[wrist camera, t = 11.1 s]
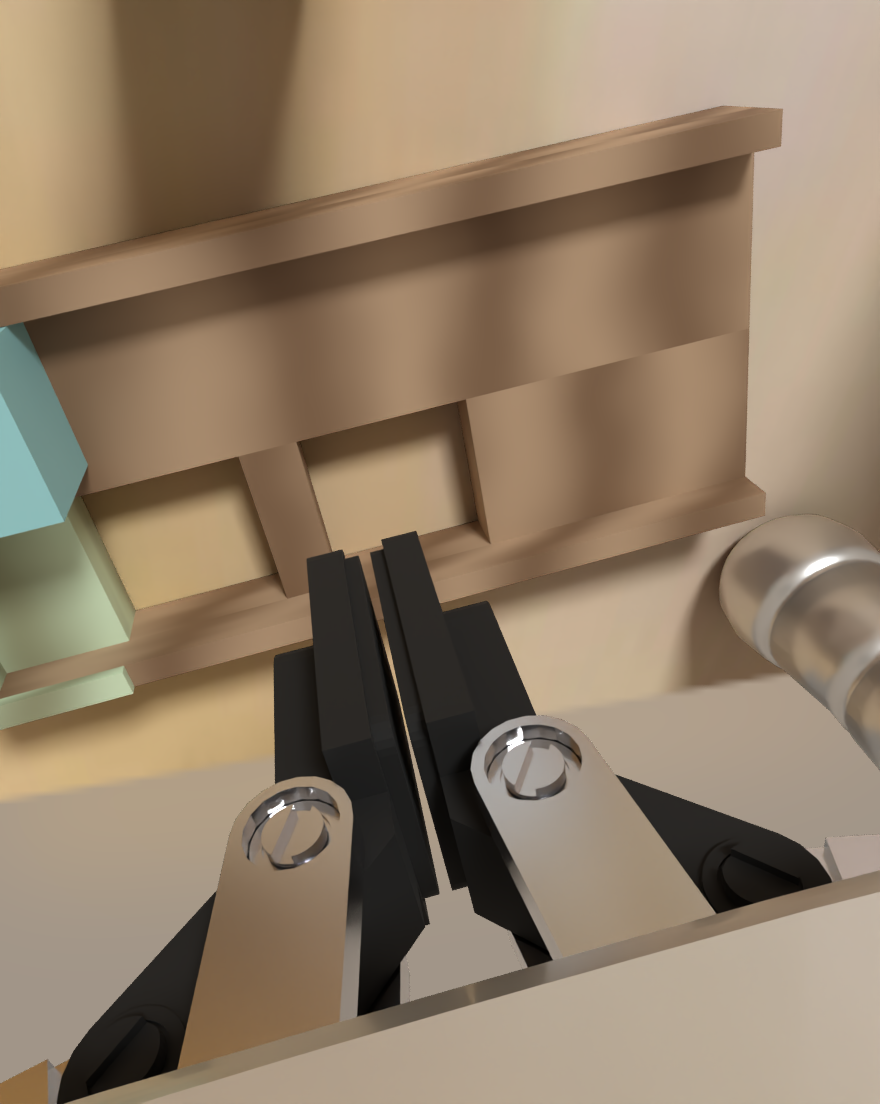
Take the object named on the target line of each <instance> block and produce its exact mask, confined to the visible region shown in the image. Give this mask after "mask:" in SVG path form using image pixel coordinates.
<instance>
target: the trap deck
mask: <svg viewBox="0 0 880 1104" xmlns="http://www.w3.org/2000/svg"><path fill="white" fill-rule="evenodd" d="M782 113H783V109H775V108H755V107H736V106H720V107H716V108H711V109H707V110H703V111H698V112H694V113H689V114H685V115H681V116H676V117H672V118H667V119H663V120H658V121H654V122H650V123H645V124H641V125H636V126H632V127H627V128H623V129H619V130H614V131H610V132H605V133H601V134H597V135H592V136H588V137H583V138H579V139H574V140H570V141H566V142H561V143H557V144H552V145H548V146H543V147H539V148H535V149H530V150H526V151H521V152H517V153H513V154H508V155H504V156H499V157H495V158H490V159H486V160H482V161H477V162H473V163H468V164H464V165H459V166H455V167H451V168H446V169H442V170H437V171H433V172H429V173H424V174H420V175H415V176H411V177H406V178H402V179H398V180H393V181H389V182H384V183H380V184H375V185H371V186H367V187H362V188H358V189H353V190H349V191H345V192H340V193H336V194H331V195H327V196H322V197H318V198H314V199H309V200H305V201H300V202H296V203H291V204H287V205H283V206H278V207H274V208H269V209H265V210H261V211H256V212H252V213H247V214H243V215H238V216H234V217H230V218H225V219H221V220H216V221H212V222H207V223H203V224H199V225H194V226H190V227H185V228H181V229H177V230H172V231H168V232H163V233H159V234H154V235H150V236H146V237H141V238H137V239H132V240H128V241H123V242H119V243H115V244H110V245H106V246H101V247H97V248H93V249H88V250H84V251H79V252H75V253H70V254H66V255H62V256H57V257H53V258H48V259H44V260H40V261H35V262H31V263H26V264H22V265H17V266H13V267H9V268H4V269H0V327H4V326H8V325H13V324H17V323H21V322H23V323H24V326H25V328H26V330H27V332H28V334H29V337H30V339H31V341H32V343H33V345H34V348H35V350H36V352H37V354H38V356H39V359H40V361H41V363H42V365H43V367H44V369H45V372H46V374H47V376H48V378H49V380H50V383H51V385H52V387H53V389H54V391H55V394H56V396H57V398H58V400H59V402H60V405H61V407H62V409H63V411H64V413H65V416H66V418H67V420H68V422H69V424H70V427H71V429H72V431H73V433H74V435H75V438H76V440H77V442H78V444H79V446H80V448H81V451H82V453H83V455H84V457H85V459H86V462H87V464H88V466H87V469H86V471H85V473H84V476H83V478H82V481H81V483H80V485H79V488H78V490H77V493H76V495H75V497H74V500H73V502H72V505H71V507H70V509H69V512H68V514H67V517H66V519H65V521H64V522H62V523H58V524H54V525H50V526H45V527H41V528H37V529H33V530H29V531H25V532H21V533H17V534H13V535H9V536H5V537H1V538H0V730H2V729H5V728H9V727H13V726H16V725H20V724H24V723H27V722H31V721H35V720H38V719H42V718H46V717H49V716H53V715H57V714H60V713H64V712H68V711H71V710H75V709H79V708H82V707H86V706H90V705H94V704H97V703H101V702H105V701H108V700H112V699H116V698H119V697H123V696H127V695H130V694H133V692H134V687H135V686H139V685H142V684H146V683H150V682H153V681H157V680H161V679H164V678H168V677H172V676H175V675H179V674H183V673H186V672H190V671H194V670H197V669H201V668H205V667H209V666H212V665H216V664H220V663H223V662H227V661H231V660H234V659H238V658H242V657H245V656H249V655H253V654H256V653H260V652H264V651H267V650H271V649H275V648H279V647H282V646H286V645H290V644H293V643H297V642H301V641H304V640H308V639H312V638H313V635H312V623H311V611H310V599H309V586H308V574H307V558H310V557H314V556H318V555H322V554H326V553H330V552H332V549H331V546H330V542H329V539H328V536H327V532H326V529H325V525H324V522H323V519H322V515H321V512H320V509H319V505H318V502H317V499H316V495H315V492H314V489H313V485H312V482H311V479H310V475H309V472H308V468H307V465H306V462H305V458H304V455H303V452H302V448H301V445H300V442H299V441H302V440H306V439H310V438H314V437H318V436H322V435H326V434H330V433H334V432H338V431H342V430H346V429H350V428H354V427H358V426H362V425H366V424H370V423H374V422H378V421H382V420H386V419H390V418H394V417H398V416H402V415H406V414H410V413H414V412H418V411H422V410H426V409H430V408H434V407H438V406H442V405H446V404H450V403H454V402H457V404H458V410H459V415H460V421H461V427H462V432H463V438H464V444H465V449H466V455H467V460H468V466H469V472H470V477H471V483H472V488H473V494H474V500H475V505H476V511H477V517H478V521H474V522H470V523H466V524H463V525H459V526H455V527H451V528H448V529H444V530H440V531H436V532H432V533H429V534H425V535H421V536H418V538H419V541H420V544H421V547H422V550H423V553H424V556H425V559H426V563H427V566H428V569H429V572H430V575H431V578H432V581H433V584H434V587H435V590H436V593H437V596H438V600H439V603H440V604H441V603H444V602H448V601H452V600H455V599H459V598H463V597H466V596H470V595H474V594H477V593H481V592H485V591H489V590H492V589H496V588H500V587H503V586H507V585H511V584H514V583H518V582H522V581H525V580H529V579H533V578H536V577H540V576H544V575H547V574H551V573H555V572H559V571H562V570H566V569H570V568H573V567H577V566H581V565H584V564H588V563H592V562H595V561H599V560H603V559H606V558H610V557H614V556H617V555H621V554H625V553H629V552H632V551H636V550H640V549H643V548H647V547H651V546H654V545H658V544H662V543H665V542H669V541H673V540H676V539H680V538H684V537H687V536H691V535H695V534H699V533H702V532H706V531H710V530H713V529H717V528H721V527H724V526H728V525H732V524H735V523H739V522H743V521H746V520H750V519H754V518H757V517H761V516H765V499H766V493H765V492H764V491H763V490H761V489H760V488H759V487H758V486H756V485H755V484H754V483H753V482H751V481H750V480H749V479H747V478H746V477H745V462H746V426H747V391H748V355H749V319H750V283H751V247H752V212H753V176H754V152H758V151H763V150H767V149H771V148H776V147H780V146H781V136H782ZM234 457H239V460H240V463H241V466H242V469H243V472H244V475H245V478H246V480H247V483H248V486H249V489H250V492H251V495H252V498H253V501H254V504H255V506H256V509H257V512H258V515H259V518H260V521H261V524H262V527H263V529H264V532H265V535H266V538H267V541H268V544H269V547H270V550H271V553H272V555H273V558H274V561H275V564H276V567H277V570H278V573H277V574H273V575H269V576H266V577H262V578H258V579H254V580H250V581H247V582H243V583H239V584H235V585H231V586H228V587H224V588H220V589H216V590H213V591H209V592H205V593H201V594H197V595H194V596H190V597H186V598H182V599H178V600H175V601H171V602H167V603H163V604H159V605H156V606H152V607H148V608H144V609H140V610H137V611H135V608H134V606H133V604H132V602H131V600H130V598H129V596H128V594H127V592H126V590H125V588H124V585H123V583H122V581H121V579H120V577H119V575H118V573H117V571H116V569H115V567H114V564H113V562H112V560H111V558H110V556H109V554H108V552H107V550H106V548H105V546H104V543H103V541H102V539H101V537H100V535H99V533H98V531H97V529H96V527H95V525H94V523H93V520H92V518H91V516H90V514H89V512H88V510H87V508H86V506H85V504H84V502H83V499H82V497H81V496H83V495H87V494H91V493H95V492H99V491H103V490H107V489H111V488H115V487H119V486H123V485H127V484H131V483H135V482H139V481H143V480H147V479H151V478H154V477H158V476H162V475H166V474H170V473H174V472H178V471H182V470H186V469H190V468H194V467H198V466H202V465H206V464H210V463H214V462H218V461H222V460H226V459H230V458H234ZM381 549H383V546H379V547H376V548H372V549H368V550H364V551H360V552H357V553H353V554H349V555H345V558H349V557H353V556H357V555H359V558H360V561H361V565H362V569H363V572H364V576H365V579H366V583H367V587H368V590H369V594H370V597H371V601H372V604H373V608H374V612H375V615H376V619H377V621H378V620H382V619H384V617H383V613H382V608H381V603H380V599H379V594H378V589H377V585H376V580H375V575H374V571H373V566H372V561H371V557H370V552H373V551H377V550H381Z"/></svg>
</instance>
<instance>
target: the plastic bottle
mask: <svg viewBox="0 0 880 1104" xmlns="http://www.w3.org/2000/svg"><path fill="white" fill-rule="evenodd" d="M719 600H720V604H721V607H722V610H723V611H724V613H725V615H726V617H727V618H728V620H729V622H730V624H731V625H732V627H733V629H734V630H735V632H736V633H737V635H738V637H739V638H740V639H742V640H743V641H744V642H745V643H746V644H748V645H749V646H750V647H751V648H753V649H754V650H755V651H756V652H758V653H759V654H760V655H761V656H763V657H764V658H765V659H766V660H768V661H770V662H771V663H773V664H774V665H776V666H777V667H779V668H781V669H783V670H784V671H785V672H787V673H788V674H789V675H790V676H791V677H792V678H793V679H794V680H796V681H797V682H798V683H799V684H800V685H801V686H802V687H803V688H805V689H806V690H807V691H808V692H809V693H810V694H811V695H812V696H814V697H815V698H816V699H817V700H818V701H819V702H820V703H821V704H823V705H824V706H825V707H826V708H827V709H828V710H829V711H830V712H831V713H832V714H833V715H834V716H835V718H836V719H837V720H838V721H839V723H840V724H841V725H842V726H843V727H844V728H845V729H846V730H847V731H848V732H849V733H850V734H851V736H852V738H853V739H854V740H855V741H856V743H857V744H858V745H859V746H860V747H861V749H862V750H863V751H864V752H865V753H866V755H867V756H868V757H869V758H870V759H871V761H872V762H873V763H874V764H875V765H876V766H877V767H878V769H879V770H880V553H879V552H878V551H877V550H876V549H875V548H874V547H873V546H872V545H871V544H870V543H869V542H868V541H867V540H866V538H865V537H864V536H863V535H862V534H860V533H859V532H857V531H855V530H854V529H852V528H850V527H848V526H845V525H843V524H841V523H839V522H836V521H834V520H832V519H830V518H827V517H824V516H820V515H813V514H802V515H793V516H785V517H780V518H777V519H773V520H770V521H768V522H766V523H764V524H762V525H760V526H758V527H757V528H755V529H754V530H752V531H751V532H749V533H748V534H747V535H746V536H745V537H743V538H742V539H741V540H740V541H739V542H738V543H737V545H736V546H735V547H734V548H733V549H732V551H731V552H730V554H729V556H728V557H727V559H726V561H725V563H724V566H723V568H722V573H721V578H720V585H719Z"/></svg>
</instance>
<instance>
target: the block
mask: <svg viewBox="0 0 880 1104" xmlns="http://www.w3.org/2000/svg"><path fill="white" fill-rule="evenodd" d="M87 466H88V464H87V462H86V459H85V457H84V455H83V453H82V451H81V448H80V446H79V444H78V442H77V440H76V438H75V435H74V433H73V431H72V429H71V427H70V424H69V422H68V420H67V418H66V416H65V413H64V411H63V409H62V407H61V405H60V402H59V400H58V398H57V396H56V394H55V391H54V389H53V387H52V385H51V383H50V380H49V378H48V376H47V374H46V372H45V369H44V367H43V365H42V363H41V361H40V359H39V356H38V354H37V352H36V350H35V348H34V345H33V343H32V341H31V339H30V337H29V334H28V332H27V330H26V328H25V326H24V323H23V322H21V323H17V324H13V325H8V326H4V327H0V538H1V537H5V536H9V535H13V534H17V533H21V532H25V531H29V530H33V529H37V528H41V527H45V526H50V525H54V524H58V523H62V522H64V521H65V519H66V517H67V514H68V512H69V509H70V507H71V505H72V502H73V500H74V497H75V495H76V493H77V490H78V488H79V485H80V483H81V481H82V478H83V476H84V473H85V471H86V469H87Z"/></svg>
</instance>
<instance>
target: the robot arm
mask: <svg viewBox="0 0 880 1104" xmlns="http://www.w3.org/2000/svg"><path fill="white" fill-rule="evenodd" d="M381 541H382V545H383V549H381V550H377V551H373V552H370V557H371V561H372V566H373V571H374V575H375V580H376V585H377V589H378V594H379V599H380V603H381V608H382V613H383V617H384V622H385V627H386V631H387V636H388V641H389V645H390V650H391V655H392V660H393V664H394V669H395V674H396V678H397V683H398V688H399V692H400V697H401V702H402V706H403V711H404V715H405V720H406V724H407V728H408V732H409V736H410V740H411V744H412V747H413V751H414V755H415V758H416V762H417V765H418V769H419V773H420V776H421V780H422V783H423V787H424V791H425V794H426V798H427V801H428V805H429V808H430V812H431V815H432V819H433V823H434V827H435V830H436V834H437V837H438V841H439V844H440V848H441V852H442V855H443V859H444V863H445V866H446V870H447V873H448V877H449V880H450V884H451V888H452V890H456V889H460V888H463V887H466V886H468V888H469V893H470V896H471V900H472V904H473V908H474V912H475V913H476V914H478V915H480V916H482V917H484V918H486V919H488V920H489V921H491V922H494V923H495V924H497V925H499V926H501V927H503V928H505V929H507V931H508V935H509V939H510V942H511V946H512V948H513V950H514V952H515V954H516V957H517V959H518V961H519V963H520V965H521V967H522V970H518V971H515V972H511V973H508V974H504V975H501V976H497V977H494V978H490V979H487V980H483V981H480V982H477V983H473V984H469V985H466V986H463V987H459V988H456V989H452V990H449V991H445V992H442V993H438V994H435V995H431V996H428V997H424V998H421V999H417V1000H414V1001H411V1002H410V974H409V968H408V962H407V957H406V954H407V953H408V951H409V950H410V948H411V947H412V945H413V944H414V942H415V941H416V939H417V938H418V936H419V935H420V933H421V932H422V931H423V929H424V928H425V925H428V924H430V923H429V918H428V912H427V907H426V902H425V898H428V897H431V896H435V895H438V894H439V888H438V883H437V878H436V874H435V868H434V864H433V859H432V854H431V849H430V845H429V840H428V835H427V831H426V826H425V821H424V816H423V812H422V807H421V802H420V798H419V793H418V788H417V783H416V779H415V773H414V769H413V764H412V759H411V754H410V750H409V745H408V740H407V735H406V731H405V726H404V721H403V716H402V712H401V707H400V703H399V699H398V695H397V691H396V687H395V684H394V680H393V676H392V673H391V669H390V666H389V662H388V658H387V655H386V651H385V648H384V644H383V640H382V637H381V633H380V630H379V626H378V622H377V619H376V615H375V612H374V608H373V604H372V601H371V597H370V594H369V590H368V587H367V583H366V579H365V576H364V572H363V569H362V565H361V561H360V558H359V555H357V556H353V557H349V558H345V555H344V552H343V550H338V551H334V552H330V553H326V554H322V555H318V556H314V557H310V558H307V574H308V586H309V599H310V611H311V623H312V635H313V646H310V647H306V648H302V649H298V650H294V651H290V652H287V653H283V654H279V655H276V656H275V658H274V733H275V785H273V786H271V787H269V788H267V789H265V790H264V791H262V792H261V793H259V794H258V795H257V796H256V797H255V798H253V799H252V800H251V801H250V802H249V803H247V804H246V806H245V807H244V809H243V810H242V811H241V812H240V814H239V815H238V816H237V818H236V819H235V822H234V824H233V827H232V830H231V832H230V835H229V838H228V843H227V847H226V852H225V856H224V861H223V865H222V870H221V874H220V879H219V883H218V888H217V891H216V892H215V893H214V894H213V895H212V896H211V897H210V898H209V900H208V901H207V902H206V903H205V904H204V905H203V906H202V907H201V908H200V909H199V910H198V912H197V913H196V914H195V915H194V916H193V917H192V918H191V919H190V920H189V921H188V923H187V924H186V925H185V926H184V927H183V928H182V929H181V930H180V931H179V932H178V933H177V934H176V936H175V937H174V938H173V939H172V940H171V941H170V942H169V943H168V944H167V945H166V946H165V948H164V949H163V950H162V951H161V952H160V953H159V954H158V955H157V956H156V957H155V959H154V960H153V961H152V962H151V963H150V964H149V965H148V966H147V967H146V968H145V969H144V971H143V972H142V973H141V974H140V975H139V976H138V977H137V978H136V979H135V980H134V982H133V983H132V984H131V985H130V986H129V987H128V988H127V989H126V990H125V992H123V994H122V995H121V996H120V997H119V998H118V999H117V1000H116V1001H115V1002H114V1003H113V1005H112V1006H111V1007H110V1008H109V1009H108V1010H107V1011H106V1012H105V1013H104V1014H103V1015H102V1016H101V1018H100V1019H99V1020H98V1021H97V1022H96V1023H95V1024H94V1025H93V1026H92V1028H91V1029H90V1030H89V1031H88V1033H87V1034H86V1035H85V1036H84V1038H83V1039H82V1041H81V1042H80V1043H79V1044H78V1046H77V1047H76V1048H75V1050H74V1051H73V1053H72V1055H71V1057H70V1059H69V1060H67V1061H65V1062H63V1063H61V1064H59V1065H57V1066H55V1067H54V1066H53V1065H52V1064H51V1063H50V1061H49V1060H48V1059H47V1060H45V1061H43V1062H41V1063H39V1064H37V1065H35V1066H33V1067H31V1068H29V1069H27V1070H25V1071H23V1072H21V1073H19V1074H17V1075H16V1076H13V1077H12V1078H10V1079H8V1080H6V1081H4V1082H2V1083H0V1104H880V834H872V835H857V836H840V837H826V838H825V845H824V847H817V848H804V847H803V846H801V845H800V844H798V843H797V842H795V841H792V840H790V839H788V838H787V837H784V836H783V835H780V834H778V833H776V832H773V831H770V830H767V829H764V828H761V827H759V826H756V825H753V824H750V823H748V822H745V821H742V820H740V819H737V818H734V817H731V816H729V815H726V814H723V813H720V812H717V811H715V810H712V809H709V808H707V807H704V806H701V805H698V804H695V803H693V802H690V801H687V800H684V799H682V798H679V797H676V796H673V795H671V794H668V793H665V792H662V791H660V790H657V789H654V788H651V787H649V786H646V785H643V784H640V783H638V782H635V781H632V780H629V779H626V778H624V777H621V776H618V775H615V774H614V772H613V771H612V770H611V768H610V767H609V765H608V764H607V763H606V761H605V760H604V759H603V757H602V756H601V754H600V753H599V752H598V750H597V749H596V748H595V746H594V745H593V743H592V742H591V741H590V739H589V738H588V737H587V736H586V735H585V734H584V733H583V732H582V731H581V730H580V729H579V728H578V727H576V726H574V725H572V724H570V723H568V722H566V721H564V720H562V719H559V718H554V717H549V716H544V715H541V716H536V714H535V711H534V709H533V707H532V704H531V702H530V699H529V697H528V695H527V692H526V690H525V687H524V685H523V683H522V680H521V678H520V675H519V673H518V671H517V668H516V666H515V663H514V661H513V659H512V656H511V654H510V652H509V649H508V647H507V644H506V642H505V640H504V637H503V635H502V632H501V630H500V628H499V625H498V623H497V620H496V618H495V616H494V613H493V611H492V608H491V606H490V604H489V602H487V601H484V602H480V603H476V604H472V605H468V606H465V607H461V608H457V609H453V610H449V611H445V612H442V609H441V606H440V603H439V600H438V596H437V593H436V590H435V587H434V584H433V581H432V578H431V575H430V572H429V569H428V566H427V563H426V559H425V556H424V553H423V550H422V547H421V544H420V541H419V538H418V535H417V532H416V531H414V532H410V533H406V534H402V535H398V536H394V537H390V538H386V539H382V540H381Z"/></svg>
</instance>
